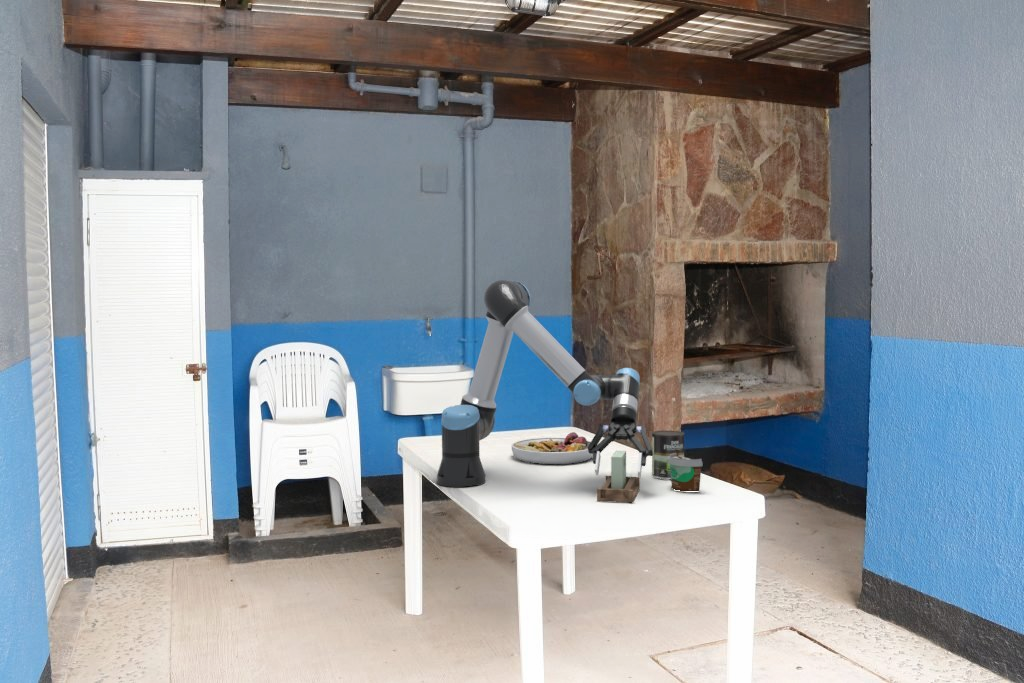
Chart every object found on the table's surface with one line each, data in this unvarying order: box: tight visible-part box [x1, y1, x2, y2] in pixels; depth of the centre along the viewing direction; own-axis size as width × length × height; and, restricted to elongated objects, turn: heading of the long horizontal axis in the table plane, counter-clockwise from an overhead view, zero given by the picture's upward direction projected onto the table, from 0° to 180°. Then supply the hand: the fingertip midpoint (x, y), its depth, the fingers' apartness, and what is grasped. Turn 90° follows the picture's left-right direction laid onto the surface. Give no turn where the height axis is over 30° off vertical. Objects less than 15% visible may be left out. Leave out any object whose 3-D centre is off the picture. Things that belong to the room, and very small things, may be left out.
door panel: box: [610, 450, 627, 489], centre depth 247 cm, size 3×10×11 cm, turn 165°
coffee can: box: [651, 429, 686, 480], centre depth 271 cm, size 10×10×14 cm
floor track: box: [596, 475, 641, 503], centre depth 247 cm, size 10×18×4 cm, turn 165°
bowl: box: [511, 431, 593, 465], centre depth 304 cm, size 30×30×8 cm
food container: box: [668, 453, 704, 492], centre depth 252 cm, size 12×6×10 cm, turn 29°
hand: (617, 473), depth 244 cm, fingers open, 11 cm apart
